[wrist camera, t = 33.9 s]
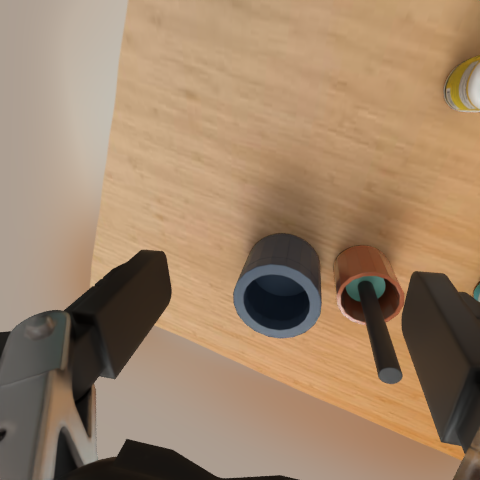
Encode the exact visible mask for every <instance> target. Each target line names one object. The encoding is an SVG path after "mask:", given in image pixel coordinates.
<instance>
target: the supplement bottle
mask: <svg viewBox="0 0 480 480" xmlns="http://www.w3.org/2000/svg"><path fill="white" fill-rule="evenodd" d="M443 93H444V99H445V101H446V103H447V104H448V105H449V107H451V108H452V109H454V110H456V111H460V112H480V55H479V56H476V57H473V58H470V59H468V60H466V61H464V62H462V63H461V64H459V65H458V66H457V67H456V68H454V70H453V71H452V72H451V73H450V74H449V76H448V78H447V80H446V82H445V85H444V90H443Z"/></svg>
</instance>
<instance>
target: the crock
mask: <svg viewBox="0 0 480 480" xmlns="http://www.w3.org/2000/svg"><path fill="white" fill-rule="evenodd" d="M333 270H334V281H335V290H336V299H337V306H338V307H339V309H340V311H341V313H342V314H343V315H344V316H345V317H347V318H348V319H349V320H351V321H353V322H356V323H359V324H362V325H366V322H365V317H364V313H363V309H362V305H361V302H359V301H356V300H354V299H353V298H351V297H350V296H349V295H348V293H347V291H346V285H348V284H349V283H350V282H351V281H352V280H355V279H357V278H360V277H363V276H378V277H381V278H383V279H384V281H385V291H384V293H383V294H382V296H381V297H380V298H378V302H379V305H380V308H381V311H382V314H383V317H384V320H385V322H388V321H390V320H391V319H392V318H394V317H395V316H397V315H398V314H399V312H400V310H401V309H402V307H403V305H404V292H403V290H402V288H401V286H400V284H399V282H398V280H397V278H396V276H395V273H394V271H393V269H392V267H391V265H390V263H389V261H388V259H387V257H386V256H385V255H384V254H383V253H382V252H381V251H380V250H378V249H376V248H374V247H371V246H365V245H359V246H354V247H351V248H348V249H346V250H345V251H343V252H342V253H341V254H340V255H339V256H338V257H337V259H336V261H335V263H334V269H333Z"/></svg>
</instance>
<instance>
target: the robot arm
mask: <svg viewBox="0 0 480 480" xmlns="http://www.w3.org/2000/svg"><path fill="white" fill-rule="evenodd" d="M171 293H172V289H171V282H170V276H169V270H168V264H167V258H166V255H165V253H164V252H163V251H153V250H141V251H139V252H138V253H137V254H136V255H135V256H134V257H132V258H131V259H130V260H129V261H128V262H126V263H124V264H122V265H120V266H118V267H116V268H114V269H112V270H111V271H110V272H109V273H108V274H107V275H105V276H104V277H103V279H101V280H99V281H98V282H97V283H96V284H95V286H92V287H91V288H90V289H89V290H88V291H87V292H85V293H84V294H83V295H82V296H81V297H79V298H78V299H77V300H76V301H75V302H74V303H72V304H71V305H70V306H69V307H68V308H66V309H65V310H64V311H61V310H52V311H46V312H43V313H39V314H36V315H34V316H32V317H29V318H28V319H26V320H24V321H23V322H21V323H20V324H18V325H17V326H16V327H15V328H14V329H13V330H12V331H9V332H0V480H298V479H293V478H289V477H285V476H280V475H278V476H260V477H244V478H226V479H225V478H219V477H216V476H214V475H213V474H211V473H209V472H208V471H206V470H205V469H203V468H201V467H200V466H198V465H196V464H195V463H193V462H192V461H190V460H188V459H187V458H185V457H183V456H182V455H180V454H179V453H177V452H175V451H174V450H171V449H167V448H162V447H158V446H154V445H149V444H146V443H141V442H137V441H133V440H129V439H126V441H125V443H124V445H123V447H122V448H121V450H120V452H119V454H118V456H117V457H111V458H106V459H101V460H98V456H97V448H96V389H95V386H94V382H95V381H96V380H97V378H98V377H99V376H101V377H106V378H112V379H116V377H117V376H118V375H119V373H120V372H121V370H122V369H123V367H124V366H125V365H126V363H127V362H128V361H129V359H130V358H131V356H132V355H133V354H134V352H135V351H136V349H137V348H138V347H139V345H140V344H141V342H142V341H143V340H144V338H145V337H146V335H147V334H148V333H149V331H150V330H151V328H152V327H153V326H154V324H155V323H156V321H157V320H158V319H159V317H160V316H161V314H162V313H163V312H164V310H165V309H166V307H167V306H168V304H169V302H170V299H171ZM402 332H403V336H404V339H405V341H406V344H407V347H408V350H409V353H410V356H411V358H412V361H413V364H414V367H415V370H416V372H417V375H418V378H419V381H420V384H421V387H422V389H423V392H424V395H425V398H426V401H427V404H428V406H429V409H430V412H431V415H432V418H433V420H434V423H435V426H436V429H437V432H438V435H439V437H440V440H441V442H443V443H449V444H454V445H459V446H462V448H463V451H464V453H465V456H464V458H463V460H462V462H461V464H460V466H459V468H458V470H457V472H456V474H455V476H454V478H453V480H480V302H478V301H477V300H476V299H474V298H473V297H471V296H470V295H468V294H467V293H465V292H458V291H457V290H456V288H455V287H454V285H453V284H452V283H451V281H450V280H449V278H448V277H447V276H446V275H445V274H443V273H431V272H418V271H415V272H413V274H412V276H411V279H410V283H409V287H408V291H407V296H406V300H405V304H404V308H403V313H402Z"/></svg>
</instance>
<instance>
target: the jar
mask: <svg viewBox="0 0 480 480" xmlns="http://www.w3.org/2000/svg"><path fill="white" fill-rule="evenodd" d="M233 296H234V306H235V308H236V311H237V313H238V315H239V317H240V318H241V319H242V320H243V322H244V323H245V324H246V325H248V326H249V327H250V328H252V329H253V330H254V331H256V332H258V333H261V334H263V335H266V336H268V337H275V338H289V337H295V336H297V335H300V334H302V333H305V332H306V331H307V330H309V329H310V328H311V327H312V326H313V325H314V324H315V323H316V321H317V319H318V317H319V316H320V312H321V304H322V302H321V274H320V263H319V259H318V256H317V254H316V252H315V250H314V249H313V248H312V247H311V245H310V244H308V243H307V242H306V241H305V240H303V239H301V238H299V237H297V236H294V235H290V234H273V235H270V236H267V237H265V238H263V239H261V240H260V241H259V242H257V243H256V244H255V246H254V247H253V248H252V250H251V251H250V254H249V256H248V258H247V261H246V263H245V265H244V267H243V270H242V272H241V274H240V277H239V279H238V281H237V284H236V286H235V289H234V293H233Z"/></svg>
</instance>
